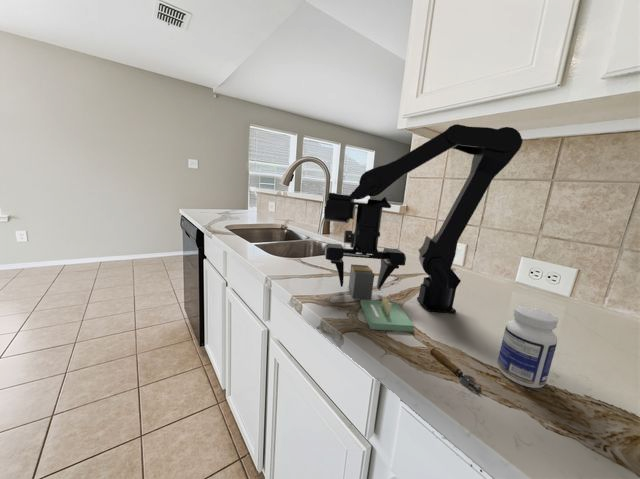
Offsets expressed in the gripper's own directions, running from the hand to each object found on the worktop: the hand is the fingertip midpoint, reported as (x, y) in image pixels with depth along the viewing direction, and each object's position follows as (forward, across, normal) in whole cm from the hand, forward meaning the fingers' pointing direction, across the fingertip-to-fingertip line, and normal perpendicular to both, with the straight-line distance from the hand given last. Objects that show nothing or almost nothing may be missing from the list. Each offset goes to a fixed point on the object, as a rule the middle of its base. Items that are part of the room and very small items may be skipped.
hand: (359, 287), depth 63 cm
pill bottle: (+2, -19, +27) cm, 33 cm away
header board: (+1, -3, +12) cm, 12 cm away
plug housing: (+1, 0, 0) cm, 1 cm away
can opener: (+2, -9, +27) cm, 28 cm away
